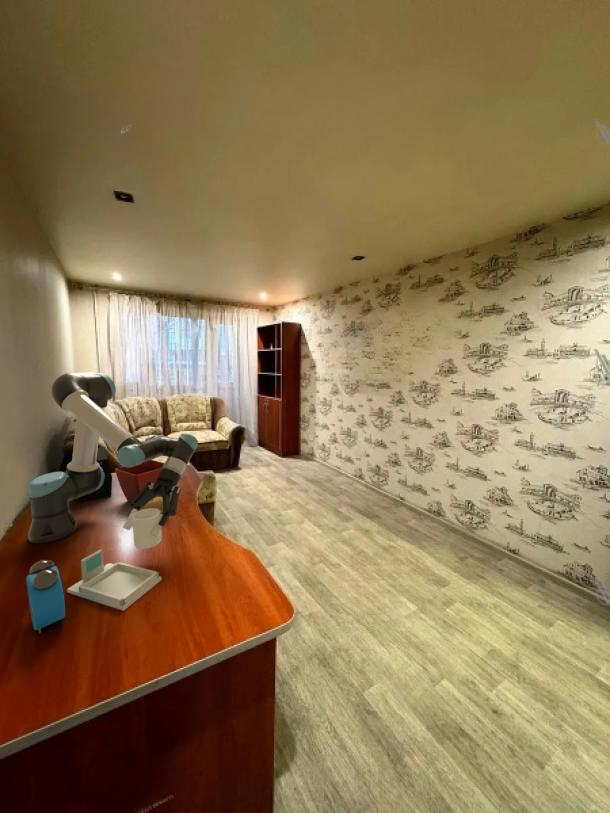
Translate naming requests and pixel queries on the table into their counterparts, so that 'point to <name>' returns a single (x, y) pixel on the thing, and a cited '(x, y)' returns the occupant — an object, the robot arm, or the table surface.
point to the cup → (145, 528)
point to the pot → (154, 504)
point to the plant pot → (137, 477)
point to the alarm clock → (45, 594)
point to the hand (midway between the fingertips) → (139, 532)
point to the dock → (113, 582)
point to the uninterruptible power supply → (107, 484)
